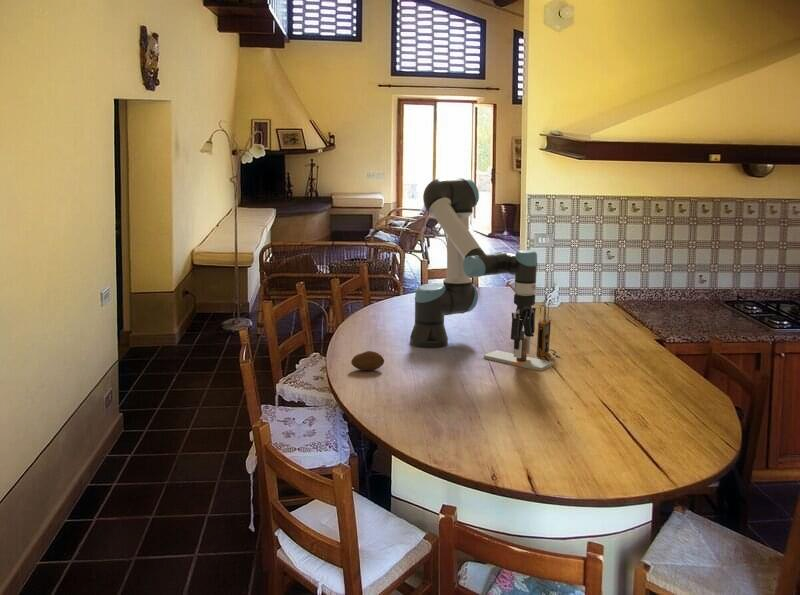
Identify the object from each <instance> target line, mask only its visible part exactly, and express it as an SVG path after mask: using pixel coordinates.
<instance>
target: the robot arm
mask: <svg viewBox="0 0 800 595" xmlns="http://www.w3.org/2000/svg"><path fill="white" fill-rule="evenodd" d="M422 196H423V198H422V200H423V204H424V209H426V211H427V213H428V214H429V216H430V217H432V218H434V219H435V220H436V221H437V223H438V224H439V225H440V227H441V228H442V230H443V231H444V233H445V234H446V247H447V248H446V277H445V278H444V279H443V282H442V283H438V282H433V283H431V282H430V283H425V284H421V285H419V286H418V287H417V288H416V289H415V294H414V295H415V296H414V325H413V328H412V331H411V334H410V336H409V343H410V344H411V345H412V346H415V347H419V348H426V349H430V348H431V349H432V348H433V349H434V348H442V347H445V346H447V345H448V344H449V336H448V334H447V331H446V330H447V329H446V327H445V316H450V315H451V316H452V315H458V314H460V315H461V314H465V313H469V312H471V311H473V310H474V309H475V308H476V306H477V304H478V301H479V291H478V290H477V287H476V285H475V284H473V279H471V278H475V277H477V278H481V277H484V276H485V277H487V276H492V275H493V276H494V275H503V274H504V275H505V274H509V275H514V291H513V292H514V294H513V303H514V305H516V310H515V312H511V318H512V319H511V328H510V329H511V332H510V340H512V341H513V354H514V357H516V358H521V349H522V340H521V335H522V331H525V332H524V338H526V339H527V355H530V354H531V338H533V337H534V336H535V329H536V328H535V326H536V325H535V323H536V321H535V320H536V310H537V308H536V307H533V306H534V305H535V304H536V294H535V293H536V289H537V270H538V269H537V268H538V254H537V252H536V251H535V250H528V249H519V250H517V251H516V253H512V252H508V251H505V250H504V251H501V250H498V251H496V252H495V253H489V254H486V253H485V251H484V250H483V249H482V247H481V246H480V244H479V243H478V242H477V240H476V239H475V238H474V236H473V235H472V233H471V232H470V229H469V228H470V224H469V222H470V220H469V219H470V217H471V215H472V214H473V208H475V207H476V206H477V204H478V203H479V199H480V194H479V189H478V186H477V184H476V183H475V182H474V181H473V180H472V179H470V178H466V177H456V178H455V177H454V178H452V177H451V178H437V179H433V180H431V181H430V182H429V183H428V184H427V185H426V187H425V188H424V191H423V194H422Z"/></svg>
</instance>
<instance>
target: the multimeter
mask: <svg viewBox="0 0 800 595" xmlns="http://www.w3.org/2000/svg"><path fill="white" fill-rule="evenodd" d="M545 304H547V305H548V309H547V307H546V305H545ZM542 307H543V309H544V311H543V319H541V320H539V322H538V324H537V337H536V340H537V341H536V356H537V357H539V359H541V360H545V361H550V360H555V357H550V358H546V359H545V358H542V357H545V356H546V355H547V354H549V352H550V351H552V352H553V353H552V355H554V356H556V359H557V358H560V359H562V357H561V355H558V354H556V353H557V351H556V350H554V349H550V343H551V342H550V340H551V319H549V317H547V315H546V314H550V313H549V310H550V303H549V302H547V301H545V302H544V304H542V305H540V308H539V313H541V312H542V311H541V310H542Z"/></svg>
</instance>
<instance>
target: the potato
mask: <svg viewBox="0 0 800 595" xmlns="http://www.w3.org/2000/svg"><path fill="white" fill-rule="evenodd" d="M350 364H351V365H352V366H353V367H354V368H355V369H357V370H359V371H375V370H378V369H380V368H381V367H383V365H384V364H385V360H384V357H383V356H382V355H381V354H379V353H378V352H375V351H371V350H367V351H364V352H362V353H358V354H356V355H355V356H353V357H352V359H351V361H350Z"/></svg>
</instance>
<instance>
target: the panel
mask: <svg viewBox="0 0 800 595" xmlns="http://www.w3.org/2000/svg"><path fill="white" fill-rule="evenodd" d="M483 358H484V359H486V360H488V361H489V360H490V361H495V362H499V363H503V364H507V365H511V366H517V367H521V368H526V369H530V370H535V371H539V372H542V371H544V370H546V369H549V368H550V367H552V366H554V362H553V361H550V360H542V359H540V358H535V357H532V356H531V357H530V356H527V358H526V361H525V362H520V361H517V360H516V359H517V358H516V357H514V352H513V353H511V352H508V351H502V350H498V349H496V350H493V351H491V352H488V353H485V354H484V355H483Z"/></svg>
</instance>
